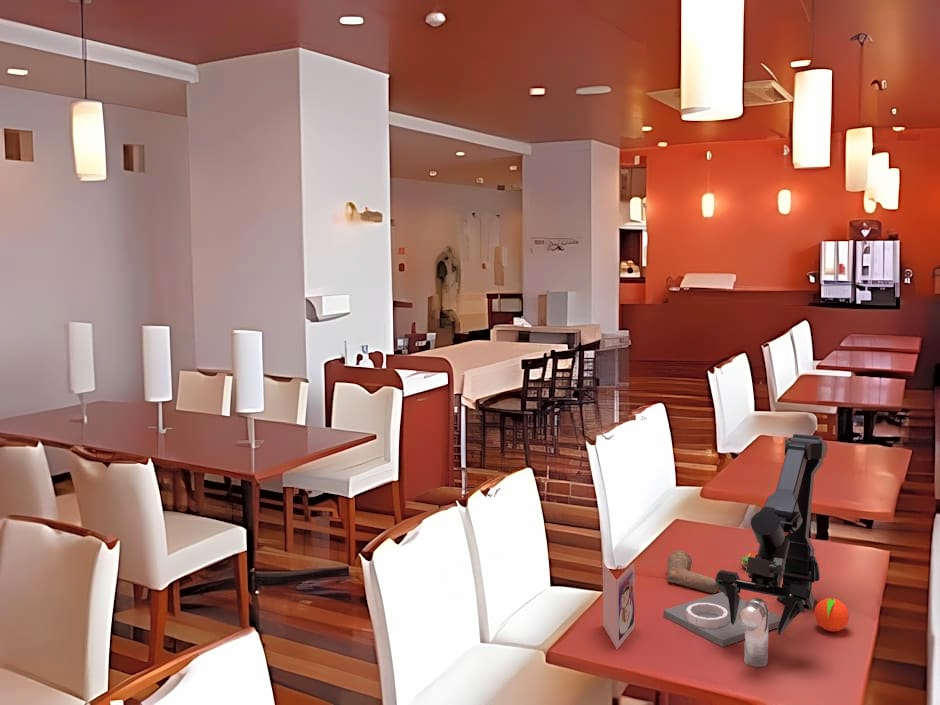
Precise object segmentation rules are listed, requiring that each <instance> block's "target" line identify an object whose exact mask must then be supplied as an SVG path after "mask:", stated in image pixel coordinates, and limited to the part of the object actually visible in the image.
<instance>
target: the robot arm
mask: <svg viewBox="0 0 940 705" xmlns="http://www.w3.org/2000/svg"><path fill="white" fill-rule="evenodd" d="M827 453H828V442H827V441H824V440H823V436H820V435H809V434H800V433H798V434H797V433H794V434H793V435H792V437H788V438H785V439H784V453H783V454H784V459H783V464H782V468H781V470H780V471H781V472H780V475H779V477H778V482H777V485H776V489H775V491H774V492H773V493H772V494H770V495H769V496H768V497H767V498H766V501H765V503H764V506H762V507H761V509H760V510H759V511H758V512H756V513H755V514H754V515H753V516H752V517H751V519H750V527H751V529H752V532H753V534H754V537H755V539H756V542H757V543H758V544H759V546H758V550H757V554H756V556H755V558H752V557H748V562H747V569H746V568H745V569H746V570H745V571H746V572H745V573H747V577H748V579H751V580H745V579H741V578H740V577H739V574H738V572H736V571H735V572H733V571H730V570H725V569H724V570H723V569H720V570H719V571H718V572H717V573H716V576H715V578H714V579H715V581H716V583H717V585H718V587H719V589H720V590H719V591H720V592H723V593H724V594H725V596H726V597H728V600H729V608H730V618H731V623H732V624H733V625H734V623H735V620H736V616H737V611H738V606H739V601H740V599H741V597H740V593H741V590H743V591H749V592H753V593H759V594H764V595H768V596H774V597H776V601H779V602H781V603H783V604H784V608H783V610H782V615H781V616H780V617H781V620H780V623H779V627H778V628H777V629H778V630H777V634H778V635H779V636H781V635H782V634H783V632H784V631H785V630H786V629H787V628H788V626H789V625H790V623H791V622H792V621H793V620H794V619H795V618H796V617H797V616H798V615H799V614H800V613H802V614H804V613H806V610H807V611H813V610H814V605H817V604H818V603H817V602H818V600H816V599H815V597H814V594H813V590H812V585H813V584H815V582H819V581H820V579H821V578H820V577H821V576H820V573H821V572H820V567H819V563H818V560H817V557H816V556H815V550H816V549H815V547H814V546H813V543H812V541H811V539H810V538H809V535H810V534H809V533H810V525H811V524H810V523H811V512H812V504H813V492H814V483H815V474H816V473H817V472H818V470H819V469H820V468H821V467H822V466H823V464H824V458H825V457H827ZM785 533H787V534H785Z"/></svg>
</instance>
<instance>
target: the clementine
mask: <svg viewBox="0 0 940 705" xmlns="http://www.w3.org/2000/svg"><path fill="white" fill-rule="evenodd" d="M849 614H850V613H849V608H847V606H846V605H845V604H844V602H842V601H841V600H840V599H837V598H834V597H826V598H823V599H822V600H820V601H819V602H818V603H816V605H815V608H814V618H815V621H816V622H817V623H818V625H819V626H820V627H821V628H823V630H825V631H829V632H839V631H841V630H843V629H845V628H846V627H847V625H848V623H849V620H850V615H849Z"/></svg>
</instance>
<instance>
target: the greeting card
mask: <svg viewBox="0 0 940 705" xmlns="http://www.w3.org/2000/svg"><path fill="white" fill-rule="evenodd" d="M635 567H636V566H635V562H634V563H632V564H631V565H630V566H629V567H628V568H627V569H626V570H625V572H623V574H621V575H620V576H619V578H618V579H616V578H615V577H614V575H613V573H612V572H611V571H610V569H609V567H608V566H607V565H606V563H605V562H604V561H602V627H603V628H604V630H605V632H606V634H607V635H608V637H609V638H610V640H611V642H612V643H613V646H614V647H615V649H616V650H618V649H619V647H620V646H622V644H623V643H625V640H626V639H627V638H628V637H629V635H631V633H632V632H633V630H634V629H635V626H636V624H635V620H636V618H635V614H636V613H635V604H636V600H635V597H636V596H635V592H636V591H635V588H636V587H635V585H636V584H635V583H636V582H635V576H636V574H635Z"/></svg>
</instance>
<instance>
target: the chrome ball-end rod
mask: <svg viewBox="0 0 940 705" xmlns="http://www.w3.org/2000/svg"><path fill="white" fill-rule="evenodd" d="M769 612H770V610H769V606H768V604H767V602H765V601H764V600H763V599H762V598H758V597H753V598H750V599H749V600H747V603H746V605H745V608H744V609H743V610H742V611H741V613H740V614H739V615H738V623H739V625H740V626H741V627H742V628H743V629H745V640H743V641H744V643H743V644H744V654H743V656H744V658H743V660H744V661H743V662H744V663H745V664H746V665H748V666H751V667H754V668H764V667H766V666H768V664H769V663H768V662H769V660H768V659H769V658H768V657H769V653H768V652H769V631H768V620H769Z"/></svg>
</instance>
